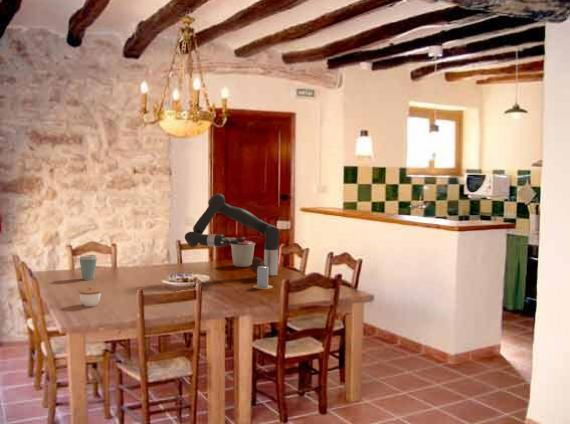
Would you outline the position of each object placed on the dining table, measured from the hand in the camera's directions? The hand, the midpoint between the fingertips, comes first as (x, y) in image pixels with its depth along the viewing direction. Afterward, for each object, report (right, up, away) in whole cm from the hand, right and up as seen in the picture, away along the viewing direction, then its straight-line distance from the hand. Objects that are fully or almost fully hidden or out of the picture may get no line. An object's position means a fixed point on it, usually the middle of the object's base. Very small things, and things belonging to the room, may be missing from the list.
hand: (240, 241), depth 369 cm
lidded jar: (-73, -30, -59) cm, 99 cm away
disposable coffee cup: (-96, -24, +7) cm, 99 cm away
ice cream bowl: (+10, -26, +16) cm, 32 cm away
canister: (-3, -21, +67) cm, 70 cm away
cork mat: (+14, -28, -6) cm, 31 cm away
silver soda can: (+14, -27, -6) cm, 31 cm away
